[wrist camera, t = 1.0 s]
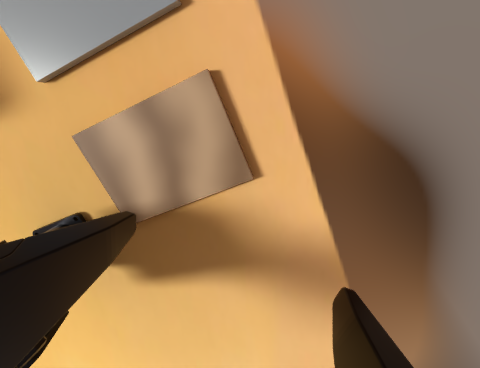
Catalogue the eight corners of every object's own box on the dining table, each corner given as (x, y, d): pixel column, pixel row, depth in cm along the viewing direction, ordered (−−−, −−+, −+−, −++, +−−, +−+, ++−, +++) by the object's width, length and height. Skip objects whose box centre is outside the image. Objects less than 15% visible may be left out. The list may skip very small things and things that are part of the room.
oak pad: (132, 222, 24) (128, 225, 23) (78, 135, 21) (71, 136, 20) (253, 176, 21) (253, 179, 21) (209, 70, 18) (207, 69, 18)
